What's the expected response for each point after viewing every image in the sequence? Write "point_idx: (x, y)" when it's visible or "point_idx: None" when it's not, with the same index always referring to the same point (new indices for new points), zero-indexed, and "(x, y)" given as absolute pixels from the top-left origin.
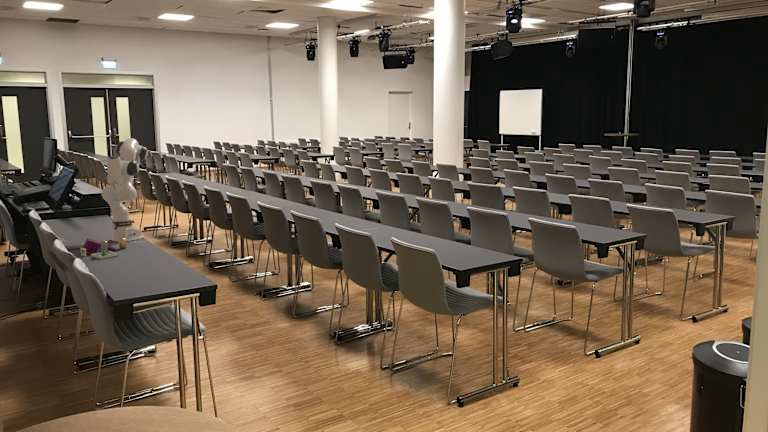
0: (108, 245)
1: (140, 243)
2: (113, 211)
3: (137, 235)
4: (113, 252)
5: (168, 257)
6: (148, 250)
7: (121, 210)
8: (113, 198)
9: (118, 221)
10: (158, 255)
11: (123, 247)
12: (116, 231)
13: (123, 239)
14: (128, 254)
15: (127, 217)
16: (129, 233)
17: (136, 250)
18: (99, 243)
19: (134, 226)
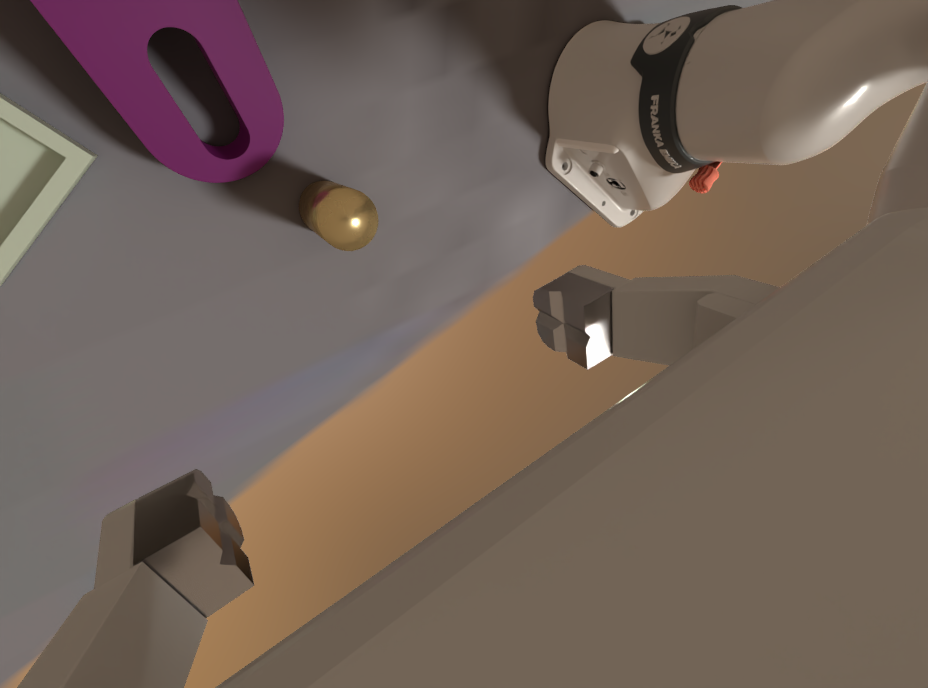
0: (249, 107)
1: (485, 262)
2: (801, 15)
3: (619, 196)
4: (21, 236)
5: None
6: (274, 409)
7: (781, 114)
8: (29, 685)
9: (681, 84)
10: None
11: (307, 224)
12: (615, 66)
13: (325, 240)
14: (101, 343)
15: (718, 157)
16: (604, 163)
17: (268, 334)
18: (111, 30)
19: (675, 182)
